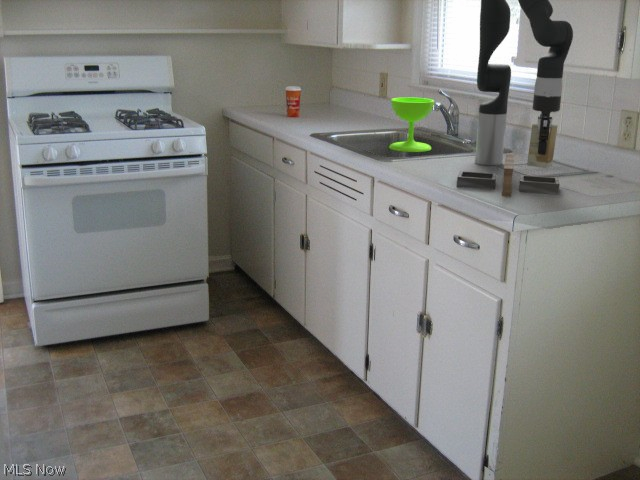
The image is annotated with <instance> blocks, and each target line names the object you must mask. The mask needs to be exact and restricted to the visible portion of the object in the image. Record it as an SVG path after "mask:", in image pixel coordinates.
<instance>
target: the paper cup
mask: <svg viewBox="0 0 640 480" xmlns="http://www.w3.org/2000/svg"><path fill="white" fill-rule="evenodd" d="M284 90H285V98H286V99H285V100H286V101H285V102H286V116H287V117H288V118H298V117H299V116H300V105H301V91H302V89H301V87H300V86H297V85H295V86H294V85H292V86H291V85H290V86H286V87H285V89H284Z"/></svg>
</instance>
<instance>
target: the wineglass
mask: <svg viewBox="0 0 640 480" xmlns="http://www.w3.org/2000/svg"><path fill="white" fill-rule="evenodd" d="M390 103H391V107H392V110H393V112H394V113H395V114H396V116H397V117H399V118H400V119H401V120H404V121H406V122H408V134H407V135H408V136H407V139H406V140H405V141H397V142H393V143H391V144H390V145H389V147H388V148H389V149H390V150H394V151H398V152H404V153H406V152H407V153H422V152H427V151H429V152H430V151H431V150H432V146H431V145H430V144H428V143H424V142H420V141H415V139H414V133H415V132H414V131H415V130H414V129H415V123H416V122H419V121H422V120H423V119H425V118H427V116H428V115H429V114H430V113H431V112H432V110H433V108H434V104H435V100H434V99H432V98H431V99H430V98H424V97H409V96H408V97H393V98H391V100H390Z"/></svg>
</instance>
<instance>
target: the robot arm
mask: <svg viewBox="0 0 640 480" xmlns="http://www.w3.org/2000/svg"><path fill="white" fill-rule="evenodd" d="M517 2H518V4H519V6H520V8H521V10H522V11H523V13H524V15H525V16H526V17H527V18H528V21H529V25H530V28H531V31H532V35H533V37H534V40H535V41H536V43H538V44H539V45H540V46H542V47H545V48H549V50H548V51H547V54H545V55H543V56H540V57H539V59H538V62H537V70H536V79H535V82H534V90H533V101H532V110H534V111H536V112H540V115H538V116H537V123H538V133H539V138H538V140H539V145H538V154H540V155H545V154H546V146H547V141H548V139H549V138H548V135H549V133H550V128H549V127H551V125H553V117H552V116H551V113H552V112H553V113H557V112H559V111H561V102H562V94H563V77H564V67H565V61H566V60H567V56H568V54H569V51H570V48H571V46H572V43H573V39H574V38H573V37H574V30H573V26H572V25H571V23H570V22H568V21H566V20H552V19H551V17H552V15H553V13H554V9H553V6H552V4H551V2H550V0H517ZM510 8H511V7H510V5H509V4H508V2H507V0H480V13H479V52H478V54H479V56H478V64H477V72H476V73H477V75H476V87H477V89H478V90H479V91H480V92H482V93H483V92H485V93H497V94H498V95H497V97H495V98H494V99H493V98H492V99H491V100H488V101H485V102H482V103H480V104H479V109H478V117H477V118H478V119H477V120H478V121H477V131H476V132H477V133H476V143H475V145H476V147H475V154H474V155H475V156H474V157H475V158H474V163H476V164H477V165H482V166H483V165H484V166H500V165H502V164H503V158H504V147H505V137H506V128H507V127H506V126H507V125H506V124H507V115H508V101H509V93H510V86H511V80H512V78H511V77H512V68H511V65H509V64H504V63H503V64H501V63H489V62H490V60H491V57H492V56H493V53H495V51H496V50H497V49H498V47H499V46H500V45H501V44H502V42H503V41H505V38H506V37H507V36H508V34H509V32H510V27H511V26H510V25H511V9H510ZM541 134H546V136H541Z"/></svg>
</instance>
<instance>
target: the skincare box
mask: <svg viewBox="0 0 640 480" xmlns="http://www.w3.org/2000/svg"><path fill="white" fill-rule="evenodd" d="M558 127H559V126H558V125H557V124H551V127H549V128H550V133H549V135H548V138H549V139H548V141H547V146H546V154H545V155H540V154H538V145H539V140H538V138H539V133H538V122H536V123H532V125H531V131H530V138H529V147H528V155H527V164H526V165H527V167H528V166H529V167H537V168H541V169H548V168H551V167H553V162H554V153H555V147H556V141H557V140H556V139H557V132H558ZM541 136H546V134H541Z"/></svg>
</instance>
